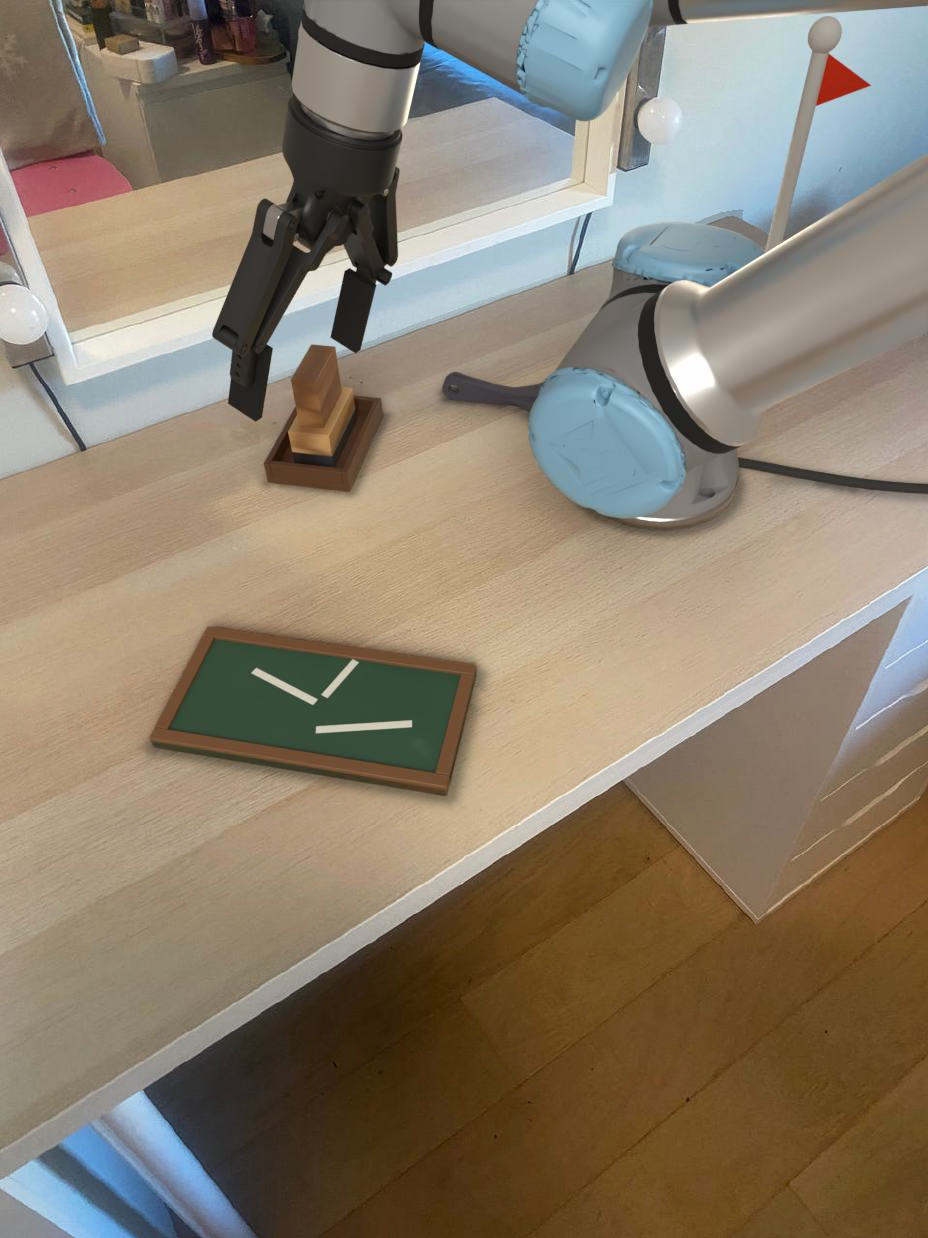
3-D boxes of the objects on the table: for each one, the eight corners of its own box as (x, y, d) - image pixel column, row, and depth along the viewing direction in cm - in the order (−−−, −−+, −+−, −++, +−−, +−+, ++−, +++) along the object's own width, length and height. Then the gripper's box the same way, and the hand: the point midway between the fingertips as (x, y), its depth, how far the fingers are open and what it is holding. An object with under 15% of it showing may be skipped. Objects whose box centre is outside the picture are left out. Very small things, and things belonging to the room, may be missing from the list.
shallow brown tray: (383, 416, 92) (381, 397, 91) (350, 492, 84) (347, 472, 83) (307, 408, 94) (304, 389, 92) (267, 482, 86) (263, 463, 84)
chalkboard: (476, 674, 69) (476, 664, 68) (446, 796, 62) (446, 787, 61) (210, 636, 73) (207, 625, 72) (153, 748, 65) (148, 737, 64)
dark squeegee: (456, 359, 99) (456, 336, 97) (590, 370, 97) (592, 347, 95) (429, 437, 90) (428, 414, 88) (577, 451, 88) (579, 428, 86)
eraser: (357, 420, 91) (346, 341, 84) (334, 469, 85) (321, 389, 79) (319, 416, 91) (306, 337, 85) (294, 464, 86) (278, 384, 79)
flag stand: (686, 336, 101) (742, 30, 79) (712, 283, 109) (769, -9, 87) (804, 358, 98) (897, 45, 76) (822, 302, 106) (911, 3, 83)
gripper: (402, 50, 66) (347, 299, 82) (166, 124, 50) (154, 416, 66) (486, 99, 65) (414, 341, 81) (274, 190, 49) (235, 471, 65)
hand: (298, 375), depth 73 cm, fingers open, 13 cm apart
